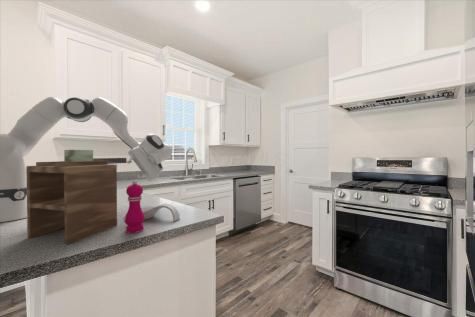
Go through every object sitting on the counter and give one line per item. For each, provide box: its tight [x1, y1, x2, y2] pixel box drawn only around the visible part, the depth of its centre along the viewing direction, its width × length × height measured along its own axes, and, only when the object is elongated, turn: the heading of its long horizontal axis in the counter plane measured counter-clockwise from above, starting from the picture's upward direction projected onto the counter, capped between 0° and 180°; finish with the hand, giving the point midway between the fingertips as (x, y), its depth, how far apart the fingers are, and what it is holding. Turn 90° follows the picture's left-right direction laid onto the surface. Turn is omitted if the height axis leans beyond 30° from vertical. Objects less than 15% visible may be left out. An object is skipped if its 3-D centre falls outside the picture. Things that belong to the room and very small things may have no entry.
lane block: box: [63, 149, 128, 165], centre depth 95 cm, size 6×26×6 cm, turn 164°
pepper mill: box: [124, 179, 146, 234], centre depth 86 cm, size 7×7×20 cm
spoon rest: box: [141, 203, 181, 222], centre depth 103 cm, size 24×12×7 cm, turn 77°
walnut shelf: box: [25, 160, 118, 245], centre depth 84 cm, size 20×20×28 cm
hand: (133, 169), depth 114 cm, fingers open, 8 cm apart
